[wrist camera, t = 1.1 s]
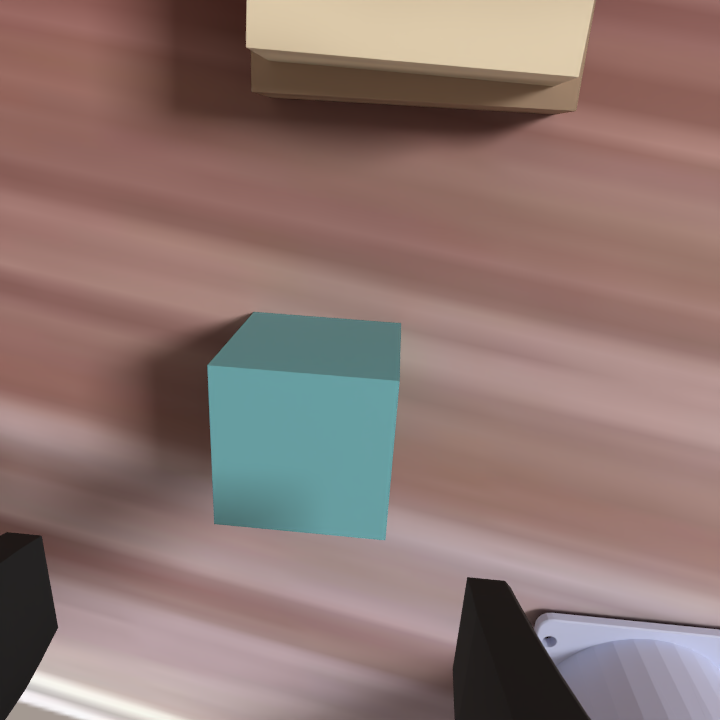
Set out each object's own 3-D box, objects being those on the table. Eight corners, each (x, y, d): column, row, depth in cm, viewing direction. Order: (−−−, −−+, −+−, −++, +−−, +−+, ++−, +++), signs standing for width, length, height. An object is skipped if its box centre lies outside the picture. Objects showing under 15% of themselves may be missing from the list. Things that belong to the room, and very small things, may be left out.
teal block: (389, 451, 19) (385, 540, 15) (255, 440, 19) (214, 524, 15) (401, 322, 17) (399, 380, 13) (254, 311, 18) (207, 365, 13)
